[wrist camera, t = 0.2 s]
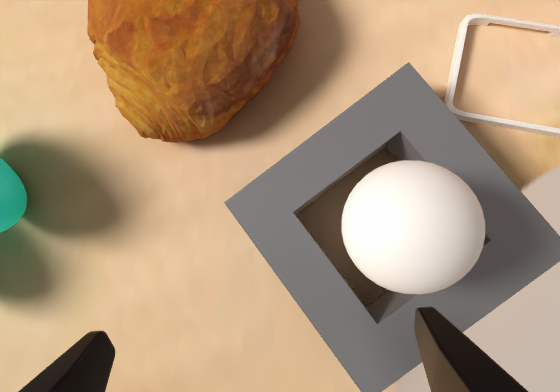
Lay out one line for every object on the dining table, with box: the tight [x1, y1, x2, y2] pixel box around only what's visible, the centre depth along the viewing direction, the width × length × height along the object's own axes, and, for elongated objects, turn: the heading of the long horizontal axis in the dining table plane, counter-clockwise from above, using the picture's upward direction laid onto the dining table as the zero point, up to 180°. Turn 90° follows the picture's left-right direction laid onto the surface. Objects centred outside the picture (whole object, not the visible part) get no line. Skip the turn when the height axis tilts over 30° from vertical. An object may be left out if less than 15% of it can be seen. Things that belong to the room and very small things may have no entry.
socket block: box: [224, 62, 560, 392], centre depth 22 cm, size 14×14×4 cm
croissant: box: [88, 0, 300, 142], centre depth 23 cm, size 14×16×8 cm
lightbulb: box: [342, 160, 485, 294], centre depth 18 cm, size 6×6×11 cm
